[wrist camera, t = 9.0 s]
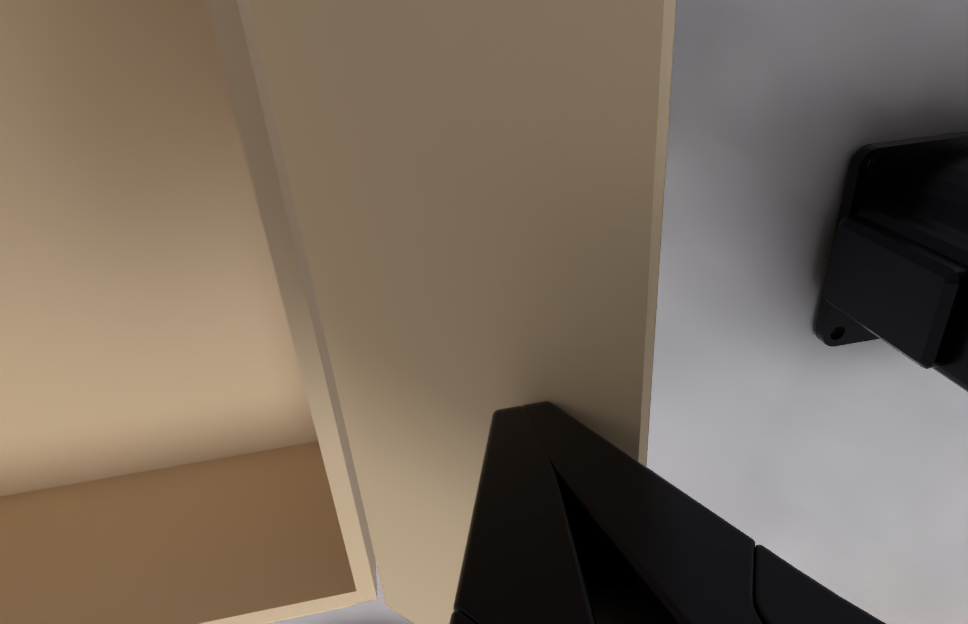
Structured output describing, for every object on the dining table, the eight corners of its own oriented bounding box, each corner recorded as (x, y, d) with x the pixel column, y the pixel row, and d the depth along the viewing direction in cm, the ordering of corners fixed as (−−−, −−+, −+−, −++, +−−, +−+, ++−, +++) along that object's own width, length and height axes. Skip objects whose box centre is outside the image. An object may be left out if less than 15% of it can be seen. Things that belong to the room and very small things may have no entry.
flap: (222, -119, 8) (243, -117, 8) (386, 606, 14) (395, 595, 14) (677, -223, 5) (690, -216, 5) (621, 751, 11) (629, 736, 11)
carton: (257, -118, 13) (193, -182, 8) (371, 441, 20) (379, 607, 15) (-429, -73, 11) (-1087, -114, 6) (-44, 515, 18) (-201, 729, 13)
